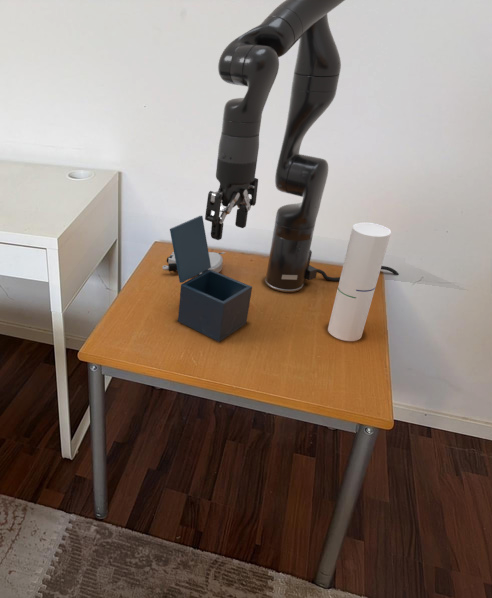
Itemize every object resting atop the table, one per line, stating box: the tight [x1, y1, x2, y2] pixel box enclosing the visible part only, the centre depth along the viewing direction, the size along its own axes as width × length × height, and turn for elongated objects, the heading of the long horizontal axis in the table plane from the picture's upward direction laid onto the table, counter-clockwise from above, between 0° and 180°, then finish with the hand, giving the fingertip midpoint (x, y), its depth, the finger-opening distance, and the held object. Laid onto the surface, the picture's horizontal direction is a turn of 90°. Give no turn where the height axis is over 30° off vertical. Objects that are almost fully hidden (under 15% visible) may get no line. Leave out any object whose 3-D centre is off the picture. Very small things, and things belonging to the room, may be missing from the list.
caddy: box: [177, 269, 253, 343], centre depth 129 cm, size 12×11×10 cm
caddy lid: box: [169, 215, 211, 284], centre depth 129 cm, size 12×11×1 cm
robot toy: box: [162, 251, 226, 277], centre depth 153 cm, size 12×4×15 cm
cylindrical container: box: [327, 221, 392, 342], centre depth 122 cm, size 7×7×25 cm
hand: (228, 232), depth 119 cm, fingers open, 8 cm apart
